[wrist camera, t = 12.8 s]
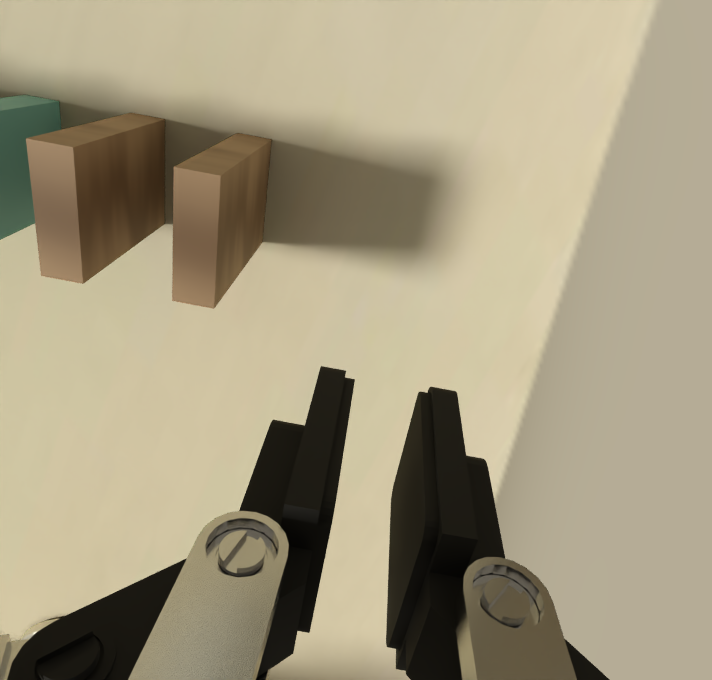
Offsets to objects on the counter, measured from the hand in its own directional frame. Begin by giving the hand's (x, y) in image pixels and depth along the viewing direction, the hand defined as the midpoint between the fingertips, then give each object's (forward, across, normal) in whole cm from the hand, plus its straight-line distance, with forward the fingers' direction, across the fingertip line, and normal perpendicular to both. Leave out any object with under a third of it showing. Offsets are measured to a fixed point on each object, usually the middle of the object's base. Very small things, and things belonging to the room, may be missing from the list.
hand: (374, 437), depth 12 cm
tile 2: (+17, +12, 0) cm, 21 cm away
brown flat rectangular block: (+17, +7, 0) cm, 18 cm away
